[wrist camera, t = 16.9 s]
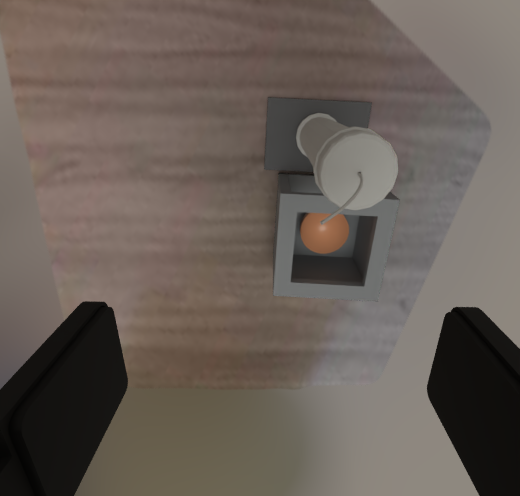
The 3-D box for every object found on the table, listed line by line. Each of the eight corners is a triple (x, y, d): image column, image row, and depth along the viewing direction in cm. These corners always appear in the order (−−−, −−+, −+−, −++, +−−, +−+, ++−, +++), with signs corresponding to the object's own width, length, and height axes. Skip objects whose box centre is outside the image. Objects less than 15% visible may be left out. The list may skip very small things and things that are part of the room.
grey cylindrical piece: (343, 145, 45) (453, 223, 18) (299, 165, 46) (338, 267, 19) (328, 104, 43) (427, 120, 16) (283, 126, 44) (301, 176, 17)
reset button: (301, 200, 47) (303, 207, 44) (347, 203, 47) (352, 210, 44) (297, 243, 50) (298, 252, 47) (341, 246, 50) (345, 255, 47)
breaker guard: (278, 172, 48) (280, 193, 37) (372, 178, 47) (399, 199, 37) (272, 257, 53) (273, 295, 43) (357, 262, 53) (377, 301, 43)
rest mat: (268, 97, 44) (268, 97, 43) (370, 102, 44) (371, 102, 43) (264, 168, 47) (264, 169, 47) (358, 173, 47) (359, 174, 47)
